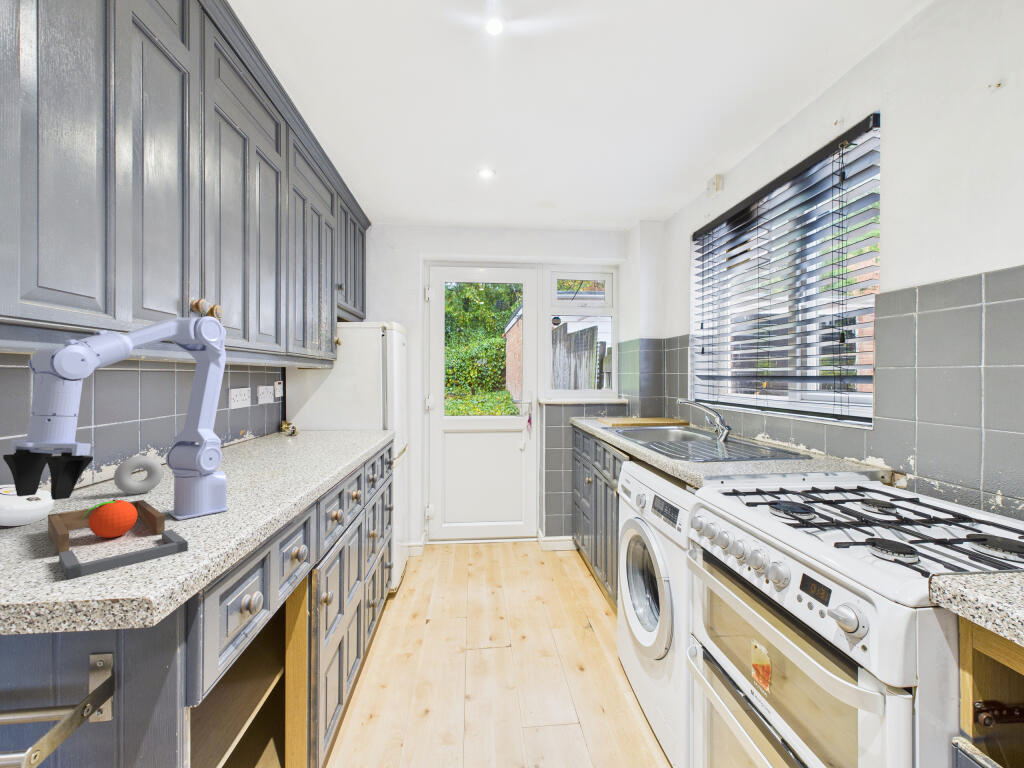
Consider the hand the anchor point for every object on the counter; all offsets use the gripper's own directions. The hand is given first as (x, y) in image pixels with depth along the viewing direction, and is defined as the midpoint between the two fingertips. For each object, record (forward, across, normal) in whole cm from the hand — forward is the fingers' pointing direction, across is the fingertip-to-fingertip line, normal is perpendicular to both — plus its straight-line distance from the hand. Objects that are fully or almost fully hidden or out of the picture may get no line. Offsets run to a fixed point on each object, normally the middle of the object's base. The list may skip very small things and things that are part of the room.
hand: (43, 497), depth 74 cm
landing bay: (+10, +12, +5) cm, 16 cm away
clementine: (+9, 0, +11) cm, 14 cm away
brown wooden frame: (+9, -2, +12) cm, 16 cm away
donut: (+7, -27, +37) cm, 46 cm away
